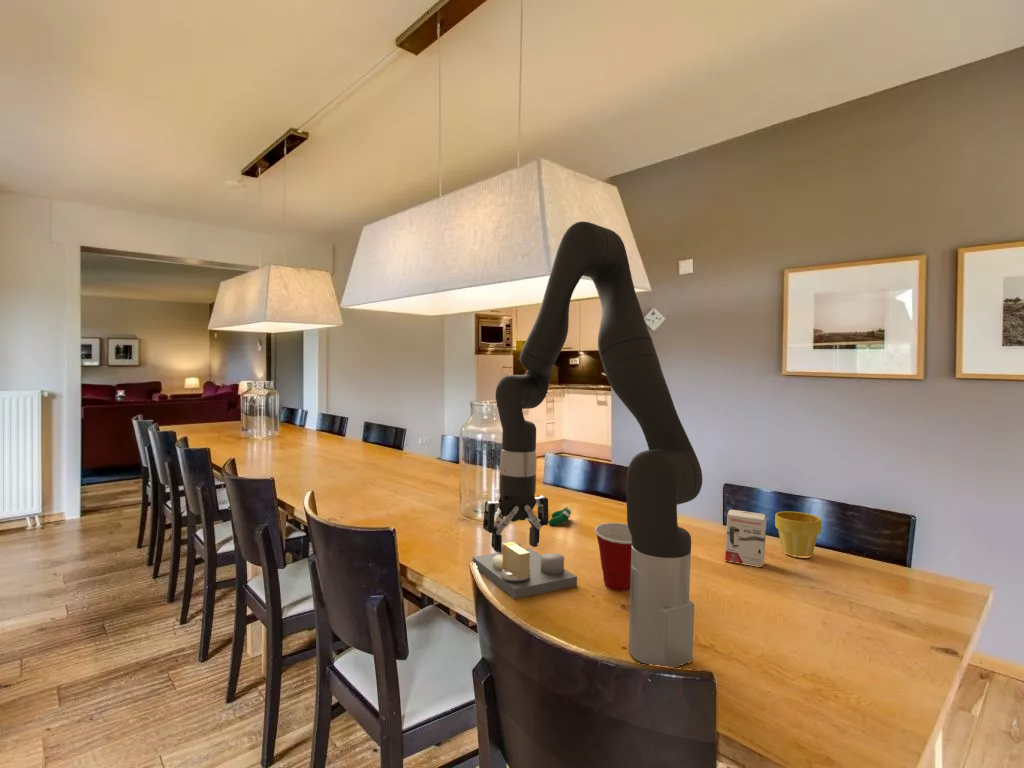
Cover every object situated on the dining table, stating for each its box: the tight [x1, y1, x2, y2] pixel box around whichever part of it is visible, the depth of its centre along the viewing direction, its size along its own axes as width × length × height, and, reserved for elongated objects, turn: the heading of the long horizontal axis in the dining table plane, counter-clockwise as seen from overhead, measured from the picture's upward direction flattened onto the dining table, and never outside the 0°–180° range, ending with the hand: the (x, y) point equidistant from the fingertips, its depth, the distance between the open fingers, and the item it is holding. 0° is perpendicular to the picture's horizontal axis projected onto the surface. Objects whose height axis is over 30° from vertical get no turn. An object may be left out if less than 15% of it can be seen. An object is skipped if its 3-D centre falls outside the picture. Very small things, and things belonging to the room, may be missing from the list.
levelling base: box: [472, 540, 578, 600], centre depth 119 cm, size 20×15×5 cm
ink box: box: [724, 509, 767, 567], centre depth 130 cm, size 9×5×12 cm, turn 62°
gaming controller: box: [548, 505, 572, 526], centre depth 161 cm, size 9×4×6 cm
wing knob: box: [501, 541, 530, 583], centre depth 112 cm, size 7×6×6 cm
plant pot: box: [774, 510, 822, 556], centre depth 136 cm, size 10×10×10 cm
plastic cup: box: [594, 522, 632, 592], centre depth 114 cm, size 11×11×12 cm
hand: (515, 548), depth 113 cm, fingers open, 8 cm apart
